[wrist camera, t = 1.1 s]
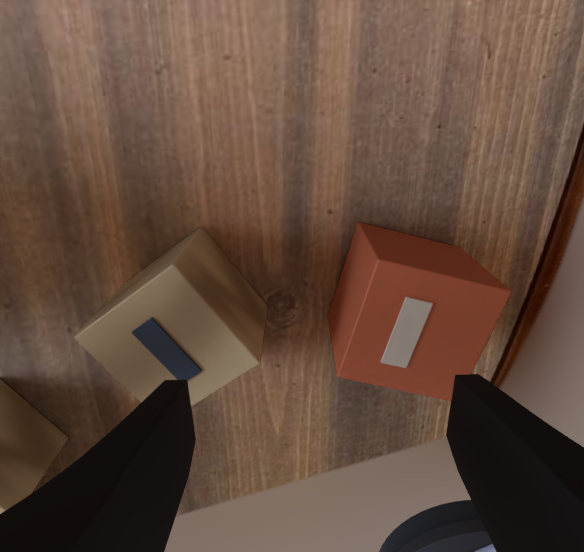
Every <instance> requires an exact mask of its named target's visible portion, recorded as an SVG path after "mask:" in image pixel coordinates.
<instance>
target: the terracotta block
mask: <svg viewBox="0 0 584 552" xmlns="http://www.w3.org/2000/svg"><path fill="white" fill-rule="evenodd" d="M510 294H511V291H510V290H509V289H508V288H507V287H506V286H504V285H503V284H502V283H501V282H500V281H499V280H497V279H496V278H495V277H494V276H493V275H492V274H490V273H489V272H488V271H487V270H486V269H485V268H483V267H482V266H481V265H480V264H479V263H477V262H476V261H475V260H474V259H473V258H472V257H470V256H469V255H468V254H467V253H466V252H465V251H463V250H462V249H461V248H460V247H456V246H452V245H448V244H444V243H440V242H436V241H432V240H428V239H424V238H420V237H416V236H412V235H408V234H404V233H400V232H396V231H392V230H388V229H384V228H380V227H376V226H372V225H368V224H364V223H360V222H359V223H357V225H356V229H355V232H354V235H353V238H352V241H351V244H350V248H349V251H348V254H347V257H346V260H345V263H344V266H343V270H342V273H341V276H340V279H339V282H338V285H337V288H336V292H335V295H334V298H333V301H332V304H331V307H330V311H329V314H328V322H329V328H330V334H331V341H332V347H333V353H334V359H335V365H336V371H337V376H338V377H341V378H346V379H350V380H355V381H360V382H364V383H369V384H374V385H378V386H383V387H388V388H392V389H397V390H402V391H406V392H411V393H416V394H420V395H425V396H430V397H435V398H439V399H444V400H449V401H451V400H452V393H453V386H454V379H455V375H464V374H472V372H473V370H474V368H475V366H476V364H477V362H478V360H479V358H480V356H481V353H482V351H483V349H484V347H485V345H486V343H487V341H488V339H489V337H490V335H491V333H492V331H493V329H494V327H495V325H496V323H497V321H498V319H499V317H500V314H501V312H502V310H503V308H504V306H505V304H506V302H507V300H508V298H509V296H510Z"/></svg>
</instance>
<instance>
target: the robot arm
mask: <svg viewBox="0 0 584 552" xmlns="http://www.w3.org/2000/svg"><path fill="white" fill-rule="evenodd" d="M446 435H447V438H448V442H449V445H450V448H451V451H452V454H453V457H454V460H455V463H456V466H457V469H458V472H459V474H460V476H461V478H462V481H463V483H464V485H465V487H466V489H467V491H468V493H469V496H470V498H471V500H472V502H473V504H474V506H475V508H476V510H477V512H478V514H479V517H480V519H481V521H482V523H483V525H484V527H485V529H486V531H487V533H488V535H489V538H490V540H491V542H492V544H490V545H487V546H485V547H483V548H481V549H478V550H476V551H474V552H584V447H582V446H581V445H579V444H578V443H576V442H574V441H573V440H571V439H570V438H568V437H567V436H565V435H564V434H562V433H561V432H559V431H558V430H556V429H555V428H553V427H552V426H550V425H549V424H547V423H546V422H544V421H543V420H542V419H540V418H539V417H537V416H536V415H534V414H533V413H532V412H530V411H529V410H527V409H526V408H525V407H523V406H522V405H520V404H519V403H517V402H516V401H515V400H514V399H512V398H511V397H510V396H508V395H507V394H506V393H504V392H503V391H501V390H500V389H499V388H497V387H496V386H494V385H493V384H492V383H490V382H489V381H487V380H486V379H485V378H483V377H481V376H480V375H478V374H464V375H455V379H454V386H453V393H452V400H451V407H450V414H449V420H448V427H447V434H446ZM195 440H196V439H195V431H194V424H193V417H192V410H191V402H190V395H189V388H188V380H164V381H163V382H162V383H161V384H160V385H159V386H158V387H157V388H156V389H155V390H154V391H153V392H152V393H151V394H150V395H149V396H148V397H147V398H146V399H145V400H144V401H143V402H142V403H141V404H140V405H138V406H137V407H136V408H135V409H134V410H133V411H132V412H131V413H130V414H129V415H128V416H127V417H126V418H125V419H124V420H123V421H122V422H121V423H120V424H118V425H117V426H116V427H115V428H114V429H113V430H112V431H111V432H110V433H109V434H107V435H106V436H105V437H104V438H103V439H102V440H100V441H99V442H98V443H97V444H96V445H95V446H93V447H92V448H91V449H90V450H89V451H88V452H86V453H85V454H84V455H83V456H82V457H80V458H79V459H78V460H77V461H75V462H74V463H73V464H72V465H70V466H69V467H68V468H66V469H65V470H64V471H63V472H61V473H60V474H58V475H57V476H56V477H54V478H53V479H52V480H50V481H49V482H48V483H46V484H45V485H43V486H42V487H41V488H39V489H38V490H36V491H35V492H33V493H32V494H30V495H29V496H27V497H26V498H24V499H23V500H21V501H19V502H18V503H16V504H15V505H13V506H12V507H10V508H9V509H7V510H6V511H4V512H2V513H1V514H0V552H164V550H165V547H166V544H167V541H168V538H169V535H170V532H171V529H172V526H173V523H174V520H175V516H176V513H177V510H178V507H179V504H180V501H181V498H182V495H183V492H184V489H185V485H186V482H187V479H188V476H189V471H190V466H191V461H192V456H193V451H194V445H195Z"/></svg>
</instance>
